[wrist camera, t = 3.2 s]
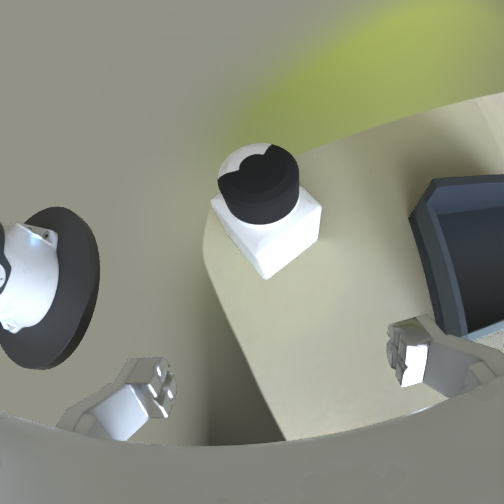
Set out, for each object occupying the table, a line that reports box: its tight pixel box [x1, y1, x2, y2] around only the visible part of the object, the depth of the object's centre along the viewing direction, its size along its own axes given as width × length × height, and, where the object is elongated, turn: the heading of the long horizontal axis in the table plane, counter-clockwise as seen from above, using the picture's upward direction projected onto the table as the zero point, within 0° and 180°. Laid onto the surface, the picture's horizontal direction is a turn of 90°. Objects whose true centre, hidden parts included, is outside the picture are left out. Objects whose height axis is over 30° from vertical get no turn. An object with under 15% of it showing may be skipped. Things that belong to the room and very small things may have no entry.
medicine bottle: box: [211, 143, 321, 279], centre depth 26 cm, size 7×7×12 cm
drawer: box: [408, 174, 504, 341], centre depth 22 cm, size 15×18×8 cm
